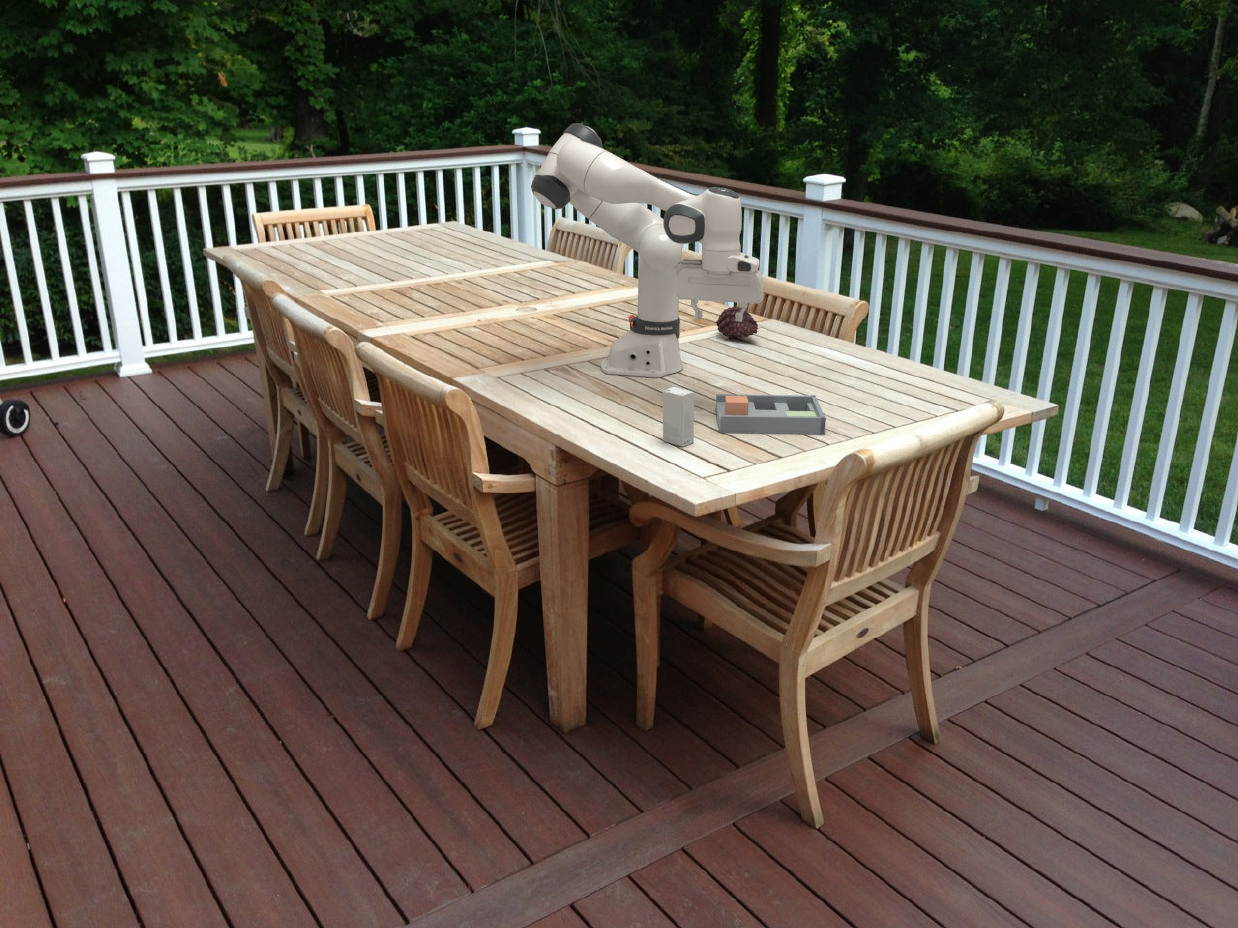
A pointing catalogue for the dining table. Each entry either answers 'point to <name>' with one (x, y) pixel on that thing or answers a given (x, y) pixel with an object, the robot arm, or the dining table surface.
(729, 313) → the pine cone
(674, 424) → the skincare box
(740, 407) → the block
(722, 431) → the box
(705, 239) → the robot arm
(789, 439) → the dining table surface
